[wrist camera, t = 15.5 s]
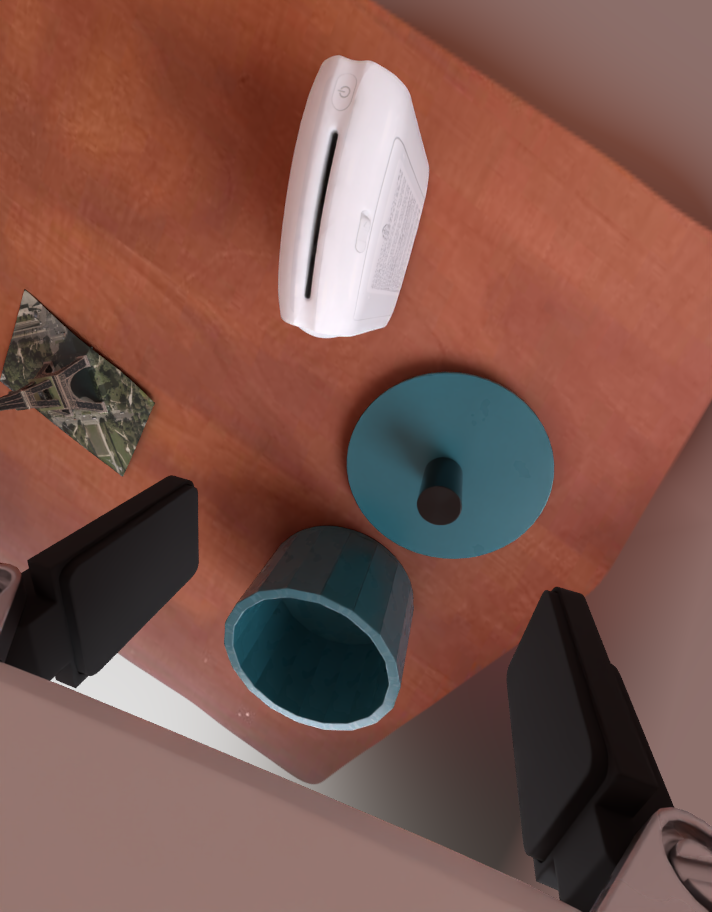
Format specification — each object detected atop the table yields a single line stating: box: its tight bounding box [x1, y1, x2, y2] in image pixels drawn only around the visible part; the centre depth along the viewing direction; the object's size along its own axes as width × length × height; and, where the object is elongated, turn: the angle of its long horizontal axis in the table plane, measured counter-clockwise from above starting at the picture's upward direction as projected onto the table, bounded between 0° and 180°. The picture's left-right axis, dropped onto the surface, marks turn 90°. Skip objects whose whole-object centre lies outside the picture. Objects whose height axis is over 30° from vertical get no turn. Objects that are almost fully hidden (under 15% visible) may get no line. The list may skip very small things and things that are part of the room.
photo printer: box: [278, 55, 429, 338], centre depth 20 cm, size 10×4×12 cm, turn 166°
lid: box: [347, 372, 554, 559], centre depth 27 cm, size 15×15×6 cm
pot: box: [224, 526, 414, 730], centre depth 33 cm, size 14×14×8 cm
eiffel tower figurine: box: [0, 290, 155, 477], centre depth 30 cm, size 15×10×13 cm
